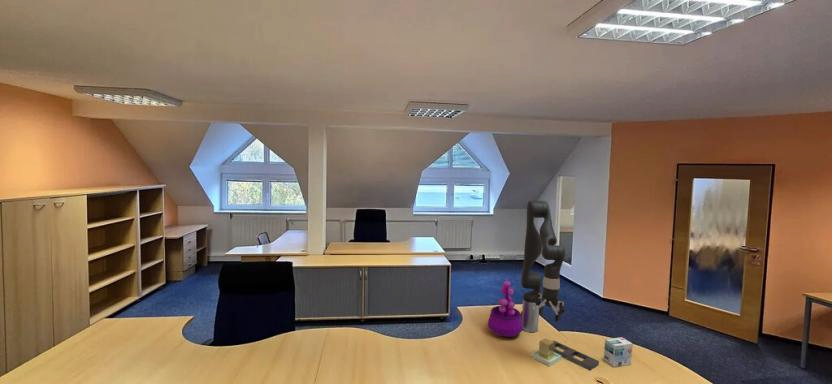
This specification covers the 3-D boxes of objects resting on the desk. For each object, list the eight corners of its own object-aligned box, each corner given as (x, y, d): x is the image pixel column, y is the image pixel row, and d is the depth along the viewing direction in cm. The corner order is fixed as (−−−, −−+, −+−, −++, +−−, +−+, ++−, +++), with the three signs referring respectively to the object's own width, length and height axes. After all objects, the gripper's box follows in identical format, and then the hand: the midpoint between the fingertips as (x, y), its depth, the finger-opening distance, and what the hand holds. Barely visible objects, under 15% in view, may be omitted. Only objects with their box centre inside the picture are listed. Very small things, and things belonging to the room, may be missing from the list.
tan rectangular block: (538, 356, 182) (539, 340, 181) (544, 353, 185) (545, 338, 184) (547, 361, 178) (548, 345, 177) (553, 357, 181) (554, 342, 180)
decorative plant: (481, 327, 213) (484, 276, 210) (509, 323, 218) (512, 274, 215) (498, 343, 195) (501, 288, 192) (528, 339, 200) (531, 285, 198)
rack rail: (544, 348, 191) (545, 344, 191) (553, 344, 196) (553, 340, 196) (590, 370, 172) (590, 366, 172) (598, 365, 177) (599, 361, 177)
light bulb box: (613, 367, 175) (615, 345, 174) (602, 360, 181) (604, 339, 180) (631, 364, 178) (633, 343, 177) (620, 357, 184) (622, 336, 183)
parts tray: (531, 356, 182) (531, 352, 182) (543, 350, 188) (543, 347, 188) (549, 366, 174) (549, 362, 174) (561, 359, 180) (561, 355, 180)
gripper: (533, 283, 181) (531, 314, 183) (560, 292, 170) (557, 325, 171) (542, 280, 185) (540, 311, 187) (569, 289, 174) (566, 321, 176)
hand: (548, 318), depth 179 cm, fingers open, 8 cm apart
